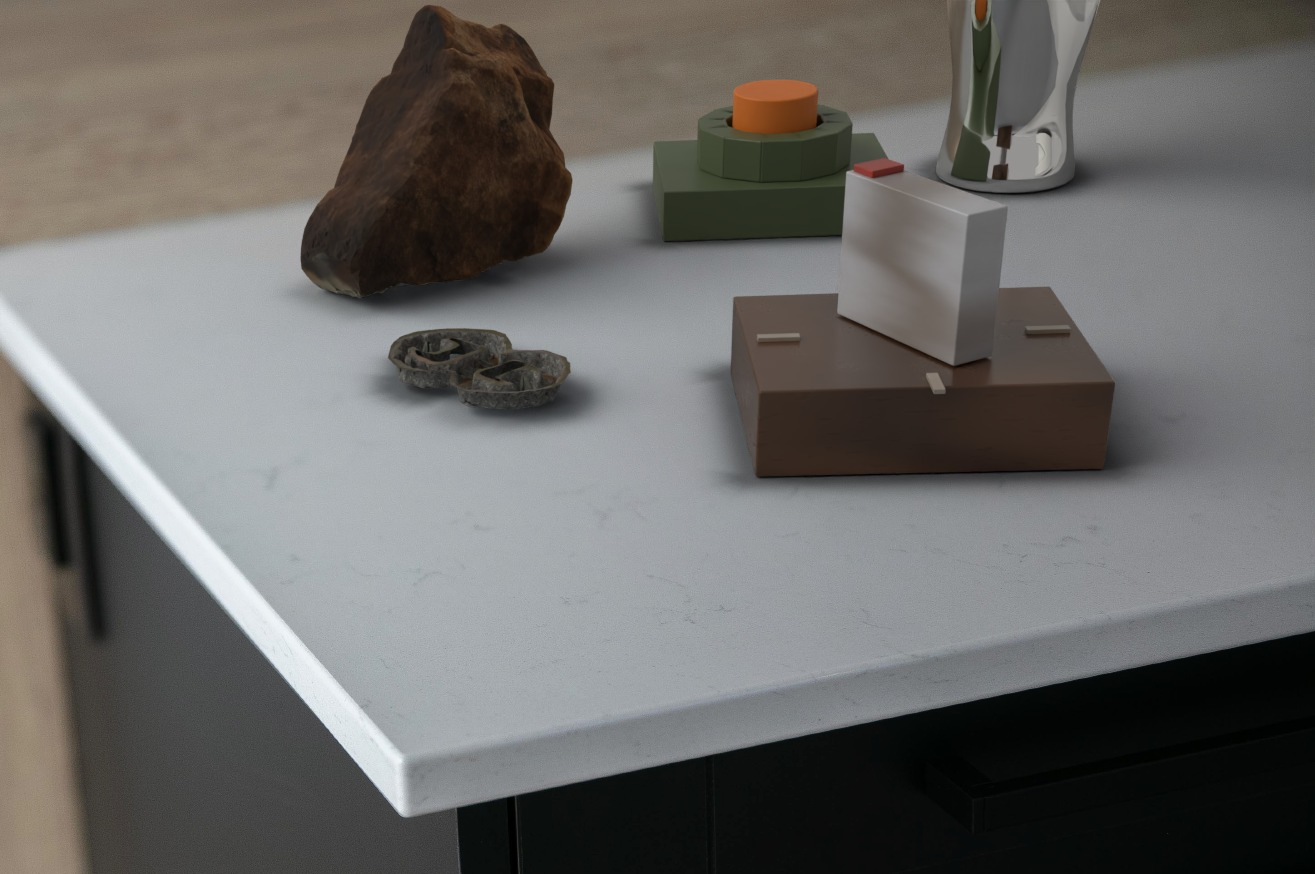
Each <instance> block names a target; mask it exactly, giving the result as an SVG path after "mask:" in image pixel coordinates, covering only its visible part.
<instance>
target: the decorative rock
mask: <svg viewBox="0 0 1315 874" xmlns="http://www.w3.org/2000/svg"><path fill="white" fill-rule="evenodd" d="M554 92H555V83H554V81H553V79H552V77H550V76H549V75H548V73H547V71H546V70H545V68H544V67H543V66H542V64H541V63H540V60H539V59H538V57H537V56H536V54H535V52H534V50H533V49H532V48H531V46H530V44H529V43H528V42H527V40H526V38H524V37H523V36H522V35H521V34H519V33H518V32H517V31H516V30H514V29H513V28H512V27H510V26H509V25H507V24H504V23H497V24H495V25H493V26H491V27H487V26H485V25H483V24H481V23H477V22H474V21H470V20H465V19H461V18H459V17H458V16H456V15H455V14H454V13H453V12H451V11H450V10H448V9H447V8H445V7H443V6H440V5H434V4H426V5H424V6H422V7H421V8H420V9H419V10H418V11H416V13H415V14H414V16H413V18H412V21H411V23H410V25H409V29H408V31H407V33H406V36H405V38H404V42H403V46H402V49H401V51H400V52H399V54H398V56H396V58H395V61H394V62H393V65H392V68H391V72H390V74H388V75H385V76H383V77H381V78H380V79H379V80H378V81H377V82H376V84H375V85H374V86H373V87H372V89H371V90H370V91H369V93H368V95H367V98H366V99H365V102H364V104H363V107H362V109H361V113H360V116H359V117H358V118H359V119H358V121H357V123H356V125H355V129H354V133H353V135H352V137H351V142H350V144H349V147H348V148H347V152H346V154H345V156H344V158H343V161H342V163H341V165H340V168H339V170H338V173H337V176H336V180H335V182H334V185H333V188H331V189H330V190H328V191H327V193H326V194H325V195H324V196H323V197H322V198H321V200H319V202H318V203H317V204H316V206H315V207H314V209H313V211H312V212H311V214H310V215H309V218H308V219H307V222H306V224H305V226H304V229H303V233H302V239H301V245H300V258H299V259H300V268H301V270H302V271H303V273H304V275H305V276H306V277H307V278H308V279H309V280H310V281H311V282H312V284H314V285H315V286H316V287H318V288H319V289H321V290H324V291H326V292H333V293H335V294H344V295H348V296H350V297H352V298H354V297H356V298H357V299H362V298H363V297H368V296H373V295H375V294H376V293H379V294H381V295H382V294H384V293H385V292H386V290H388V289H391V288H396V287H401V286H412V287H413V286H414V287H415V286H423V285H429V284H432V283H435V284H436V283H440V284H441V283H453V282H459V281H469V280H472V279H475V278H477V277H479V276H480V275H481V274H482V273H483V272H487V271H488V270H489V269H490V268H493V267H495V266H497V265H501V264H503V263H504V262H518V261H520V260H522V259H524V258H528V257H531V256H535V255H538V254H542V253H544V252H545V251H546V250H547V249H548V248H549V247H550V246H551V244H552V242H553V240H554V237H555V235H556V234H557V232H558V230H559V229H560V227H561V224H562V222H563V220H564V217H565V213H566V208H567V205H568V202H569V199H570V197H571V195H572V189H573V188H572V187H573V175H572V172H571V171H570V170H568V169H567V166H566V159H565V158H566V157H565V154H564V151H563V150H562V148H561V146H560V145H559V144H558V142H557V140H556V138H555V137H554V135H553V134H552V131H551V129H550V128H551V122H552V117H553V104H554V103H553V102H554Z"/></svg>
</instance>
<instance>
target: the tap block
mask: <svg viewBox="0 0 1315 874" xmlns="http://www.w3.org/2000/svg"><path fill="white" fill-rule="evenodd" d="M838 293H839V292H834V293H833V292H831V293H804V294H803V293H801V294H771V295H769V294H767V295H743V296H742V295H740V296H733V298H732V323H731V324H732V325H731V326H732V327H731V328H732V329H731V345H730V347H731V349H730V377H731V382H732V385H733V389H734V393H735V397H736V402H737V406H738V411H739V414H740V420H741V423H742V427H743V431H744V435H745V439H746V445H747V447H748V452H749V457H750V460H751V465H752V468H753V473H754V476H755V477H760V478H761V477H799V476H801V477H802V476H841V475H842V476H843V475H847V476H848V475H888V474H889V475H891V474H933V473H935V474H937V473H974V472H975V473H976V472H978V473H979V472H1015V471H1017V472H1019V471H1022V472H1023V471H1054V470H1055V471H1061V470H1062V471H1063V470H1064V471H1065V470H1066V471H1067V470H1068V471H1069V470H1102V469H1104V468H1105V461H1106V455H1107V448H1108V440H1109V433H1110V427H1111V426H1110V425H1111V420H1112V411H1113V404H1114V399H1115V398H1114V397H1115V390H1116V382H1115V379H1114V378H1113V377H1112V375H1111V373H1110V372H1109V371H1108V369H1107V368H1106V367H1105V365H1104V364H1103V362H1102V361H1101V359H1100V358H1099V356H1098V355H1097V353H1096V352H1095V349H1093V347H1092V346H1091V345H1090V343H1089V341H1087V339H1086V337H1085V336H1084V334H1083V333H1082V332H1081V330H1080V328H1079V327H1078V325H1077V324H1076V322H1075V321H1074V320H1073V318H1072V316H1071V315H1070V314H1069V313H1068V311H1067V310H1066V308H1065V306H1064V305H1063V304H1062V302H1061V301H1060V299H1059V298H1058V296H1057V295H1056V293H1055V291H1054V290H1053V289H1052V287H1051V286H1023V287H1022V286H1021V287H1017V286H1016V287H999V295H998V304H997V314H996V323H995V333H994V342H993V352H992V356H990V357H987V358H983V359H979V360H975V361H971V362H968V363H964V364H960V365H956V366H952V365H950V364H948V363H946V362H943V361H941V360H939V359H937V358H935V357H932V356H930V355H928V354H926V353H924V352H921V351H919V350H917V349H915V348H912V347H910V346H908V345H906V344H904V343H901V342H899V341H897V340H895V339H893V338H890V337H888V336H886V335H884V334H882V333H879V332H877V331H875V330H873V329H871V328H868V327H866V326H864V325H862V324H859V323H857V322H855V321H853V320H851V319H848V318H846V317H844V316H842V315H840V314H838V313H837V309H838Z"/></svg>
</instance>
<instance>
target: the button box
mask: <svg viewBox="0 0 1315 874" xmlns="http://www.w3.org/2000/svg"><path fill="white" fill-rule="evenodd" d="M732 126H733V105H730V106H725V107H720V108H717V109H716V108H715V109H713V110H712V111H710V112H708V113H706V114H705V115H703V116H701V117H699V118H698V119H697V134H696V135H697V138H696V139H687V140H686V139H685V140H684V139H683V140H659V141H658V140H656V141H653V144H652V145H653V147H652V149H653V150H652V153H653V154H652V190H653V195H654V196H653V197H654V201H655V206H656V210H657V216H658V222H659V227H660V231H661V237H662V238H661V239H662V241H663V242H682V241H683V242H685V241H712V240H715V241H716V240H740V239H741V240H742V239H768V238H796V237H797V238H798V237H827V236H829V237H830V236H842V231H843V216H844V200H845V185H846V172H847V171H851V170H854V165H855V164H859V163H864V162H869V161H873V160H878V159H883V158H887V159H889V156H888V155H887V153H886V152H885V150H884V148H883V147H882V145H881V142H880V141H879V140H878V137H877V136H876V135H875V133H874V132H859V133H857V132H856V133H853V126H854V123H853V121H852V119H851V118H850V115H849V114H848V113H847V112H846V111H844V110H840V109H837V108H833V107H831V106H827V105H824V104H818V106H817V123H816V128H814V129H810V130H805V131H800V132H795V133H779V134H761V133H751V132H743V131H740V130H737V129H734V128H732Z"/></svg>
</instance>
